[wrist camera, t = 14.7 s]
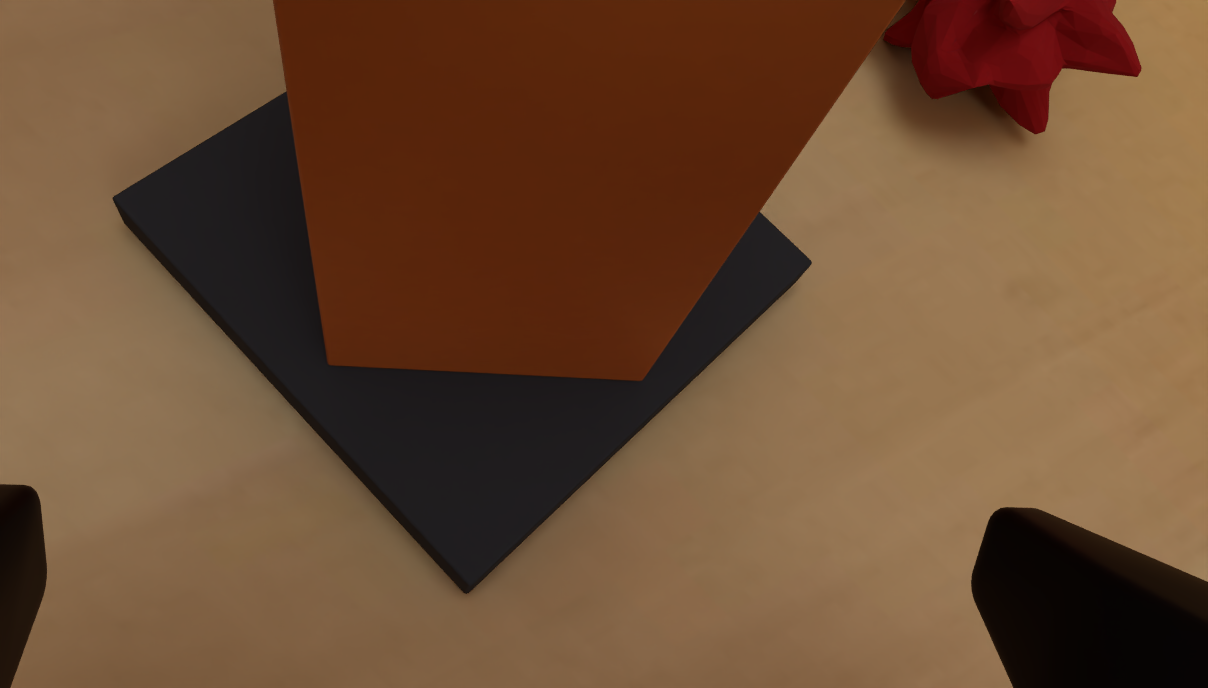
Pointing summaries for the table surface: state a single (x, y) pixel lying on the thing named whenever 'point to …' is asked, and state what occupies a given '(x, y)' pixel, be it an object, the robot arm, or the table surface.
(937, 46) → the figurine
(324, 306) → the orange block
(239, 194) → the foam pad
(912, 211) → the table surface
